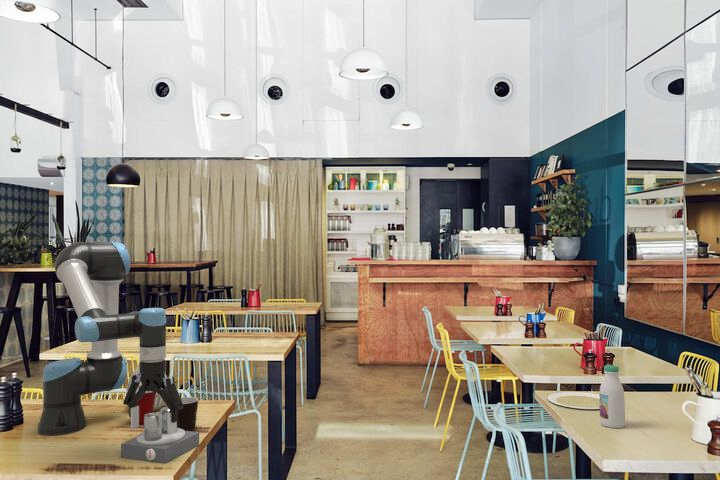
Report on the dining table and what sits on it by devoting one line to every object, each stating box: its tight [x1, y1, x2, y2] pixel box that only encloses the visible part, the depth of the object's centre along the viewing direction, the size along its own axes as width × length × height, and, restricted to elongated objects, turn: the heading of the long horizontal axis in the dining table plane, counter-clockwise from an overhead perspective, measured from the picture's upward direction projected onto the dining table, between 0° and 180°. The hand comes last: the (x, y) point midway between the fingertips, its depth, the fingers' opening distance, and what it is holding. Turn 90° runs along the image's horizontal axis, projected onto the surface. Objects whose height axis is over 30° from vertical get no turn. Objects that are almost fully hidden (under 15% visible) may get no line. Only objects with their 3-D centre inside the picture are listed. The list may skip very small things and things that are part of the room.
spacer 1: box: [143, 411, 162, 441], centre depth 171 cm, size 5×5×7 cm
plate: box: [547, 391, 600, 411], centre depth 223 cm, size 25×25×1 cm
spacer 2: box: [159, 406, 177, 434], centre depth 177 cm, size 5×5×7 cm
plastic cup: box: [125, 388, 156, 426], centre depth 204 cm, size 11×11×12 cm
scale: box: [120, 428, 200, 464], centre depth 174 cm, size 16×17×5 cm
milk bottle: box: [599, 364, 626, 429], centre depth 193 cm, size 8×8×20 cm
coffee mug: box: [177, 396, 199, 432], centre depth 196 cm, size 12×9×10 cm
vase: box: [125, 359, 168, 412], centre depth 221 cm, size 16×16×20 cm
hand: (153, 430), depth 171 cm, fingers open, 13 cm apart
